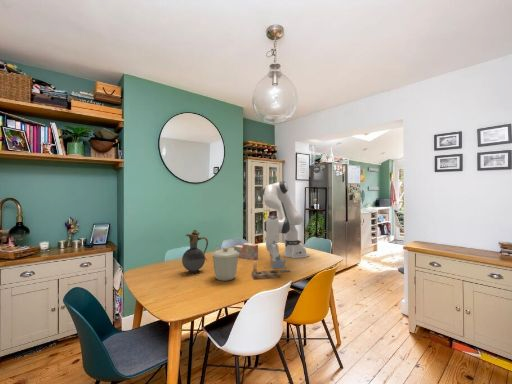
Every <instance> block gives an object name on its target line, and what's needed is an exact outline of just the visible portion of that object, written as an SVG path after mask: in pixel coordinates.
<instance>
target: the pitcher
mask: <svg viewBox="0 0 512 384" xmlns="http://www.w3.org/2000/svg"><path fill="white" fill-rule="evenodd" d="M200 233H201V231H200V232H198V230H197V229H194V230H192V231H191V233H187V234H185V235H184V236H185V237H188V238H189V248H188V249H187V250H186V251H185V252H184V253H183V254H182V257H181V263H182V265H183V267H184V269H185V270H186V271H187V273H188V274H190V275H194V274H195V275H196V274H199V272H200V269H202V267H203V266H204V265H205V262H207V261H208V260H207V258H206V256H205V253H206V251H207V248H208V246H209V240H208V238H207V237H206V236H201V237H199V236H200ZM203 239H204V240H205V242H206V244H205V245H206V246H205V248H204V251H203V250H202V249H200V248H198V242H199V241H200V240H203Z"/></svg>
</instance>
